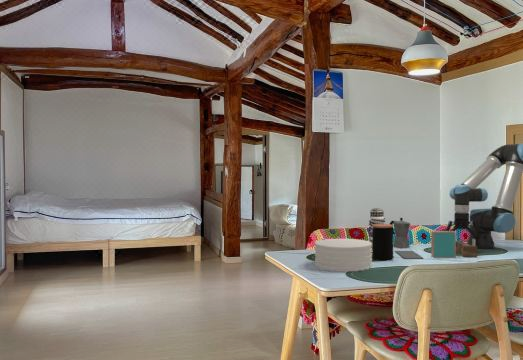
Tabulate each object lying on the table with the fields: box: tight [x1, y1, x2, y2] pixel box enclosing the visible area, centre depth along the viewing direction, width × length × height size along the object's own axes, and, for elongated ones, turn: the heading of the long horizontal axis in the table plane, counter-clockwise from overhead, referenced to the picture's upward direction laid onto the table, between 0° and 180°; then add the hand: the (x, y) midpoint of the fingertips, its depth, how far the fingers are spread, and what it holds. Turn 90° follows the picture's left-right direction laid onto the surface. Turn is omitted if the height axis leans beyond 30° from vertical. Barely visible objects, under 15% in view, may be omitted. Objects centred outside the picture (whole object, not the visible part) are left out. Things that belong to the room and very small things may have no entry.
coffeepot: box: [389, 217, 411, 249], centre depth 285 cm, size 15×9×18 cm, turn 33°
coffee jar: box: [372, 223, 394, 261], centre depth 249 cm, size 11×11×18 cm
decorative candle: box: [368, 207, 386, 251], centre depth 269 cm, size 9×9×25 cm
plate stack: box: [314, 238, 373, 272], centre depth 233 cm, size 28×28×12 cm
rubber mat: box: [394, 250, 424, 260], centre depth 258 cm, size 10×22×1 cm, turn 177°
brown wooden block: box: [456, 240, 478, 258], centre depth 258 cm, size 18×7×6 cm, turn 177°
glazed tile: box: [430, 230, 457, 259], centre depth 251 cm, size 12×2×14 cm, turn 87°
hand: (461, 250), depth 262 cm, fingers open, 13 cm apart
